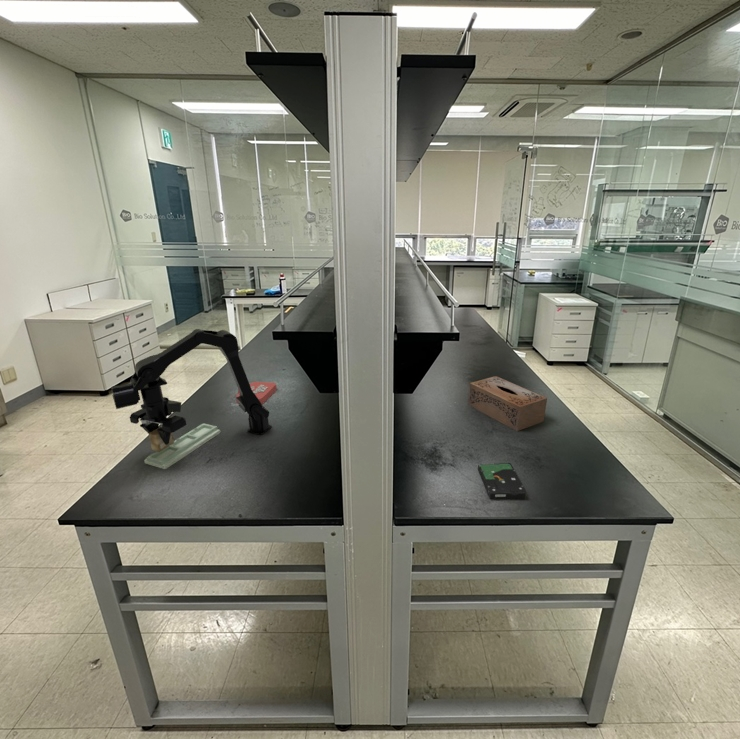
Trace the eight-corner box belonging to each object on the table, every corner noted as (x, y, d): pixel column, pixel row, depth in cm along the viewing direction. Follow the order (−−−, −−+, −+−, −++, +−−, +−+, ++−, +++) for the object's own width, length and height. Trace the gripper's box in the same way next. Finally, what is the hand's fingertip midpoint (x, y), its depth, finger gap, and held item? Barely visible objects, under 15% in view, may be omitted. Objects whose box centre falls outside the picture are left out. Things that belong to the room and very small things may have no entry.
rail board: (220, 432, 154) (219, 426, 153) (165, 469, 133) (163, 462, 132) (202, 428, 157) (200, 422, 156) (144, 463, 136) (143, 456, 135)
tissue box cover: (543, 422, 159) (547, 398, 155) (516, 431, 152) (519, 407, 148) (493, 397, 180) (495, 376, 176) (468, 405, 173) (469, 383, 169)
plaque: (247, 379, 193) (277, 381, 190) (248, 387, 194) (278, 389, 192) (227, 395, 177) (260, 398, 174) (228, 404, 178) (261, 406, 175)
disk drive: (526, 500, 117) (509, 469, 131) (527, 492, 116) (510, 461, 130) (489, 501, 117) (476, 470, 131) (490, 493, 116) (477, 462, 130)
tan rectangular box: (174, 442, 138) (171, 426, 136) (159, 451, 133) (156, 435, 131) (167, 440, 140) (163, 424, 138) (152, 449, 135) (148, 433, 132)
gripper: (195, 394, 134) (203, 436, 139) (153, 385, 141) (162, 426, 147) (167, 408, 124) (176, 453, 130) (123, 398, 131) (134, 442, 137)
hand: (163, 443), depth 136 cm, fingers closed on tan rectangular box, 3 cm apart
